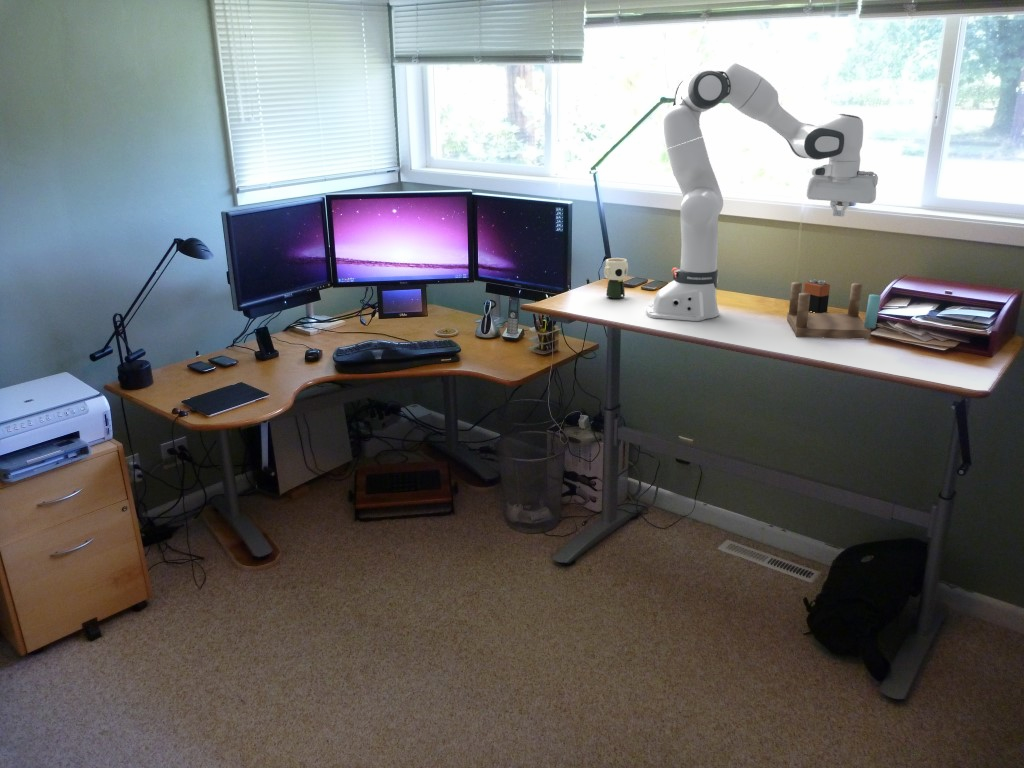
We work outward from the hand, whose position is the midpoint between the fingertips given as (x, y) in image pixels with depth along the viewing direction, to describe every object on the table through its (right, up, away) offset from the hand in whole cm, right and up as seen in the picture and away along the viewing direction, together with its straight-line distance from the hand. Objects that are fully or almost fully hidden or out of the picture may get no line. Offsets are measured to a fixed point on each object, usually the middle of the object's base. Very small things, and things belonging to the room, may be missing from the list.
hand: (838, 216), depth 259 cm
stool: (-9, -36, -14) cm, 39 cm away
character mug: (-66, -23, +27) cm, 74 cm away
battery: (-5, -29, +6) cm, 30 cm away
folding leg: (0, -36, -23) cm, 42 cm away
